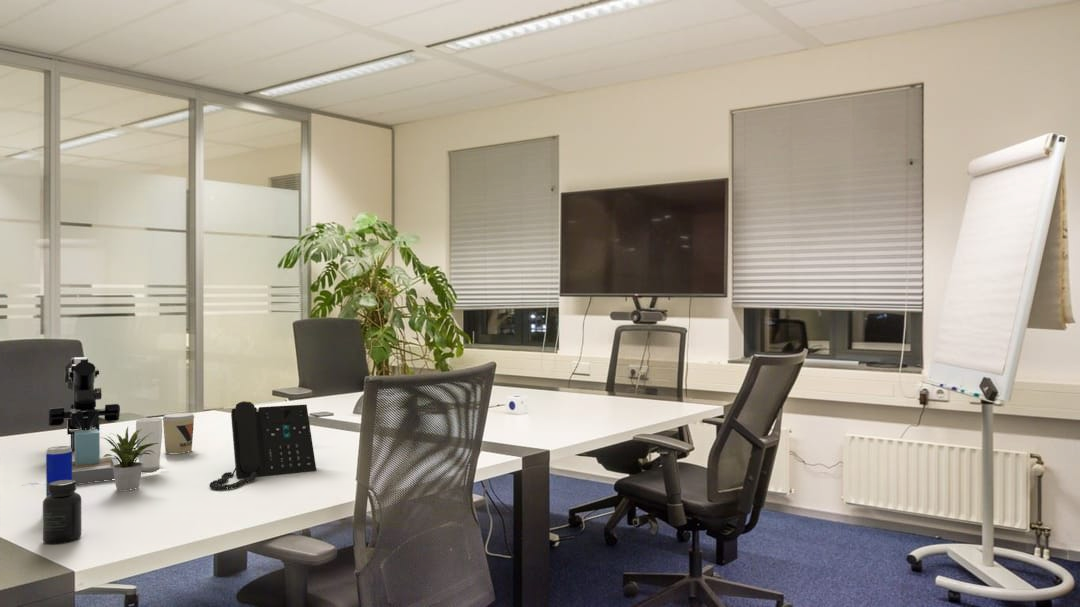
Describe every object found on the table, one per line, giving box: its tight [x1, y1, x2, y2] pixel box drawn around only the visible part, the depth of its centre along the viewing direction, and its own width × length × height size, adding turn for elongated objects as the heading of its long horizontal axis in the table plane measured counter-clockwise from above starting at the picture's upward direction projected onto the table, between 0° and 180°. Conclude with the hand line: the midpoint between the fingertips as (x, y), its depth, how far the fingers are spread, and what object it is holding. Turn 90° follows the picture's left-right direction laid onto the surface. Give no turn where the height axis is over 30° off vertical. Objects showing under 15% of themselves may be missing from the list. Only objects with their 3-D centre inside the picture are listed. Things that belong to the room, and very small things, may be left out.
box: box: [72, 457, 119, 485], centre depth 211 cm, size 14×13×4 cm
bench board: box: [72, 456, 112, 470], centre depth 221 cm, size 11×13×2 cm
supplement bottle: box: [42, 480, 83, 545], centre depth 157 cm, size 7×7×12 cm
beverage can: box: [45, 445, 73, 498], centre depth 178 cm, size 5×5×15 cm
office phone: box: [208, 400, 317, 491], centre depth 215 cm, size 29×28×20 cm
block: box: [74, 429, 101, 466], centre depth 223 cm, size 7×6×9 cm
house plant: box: [99, 426, 158, 491], centre depth 197 cm, size 14×14×16 cm
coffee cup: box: [162, 412, 195, 454], centre depth 246 cm, size 9×9×12 cm
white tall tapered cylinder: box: [135, 417, 163, 473], centre depth 218 cm, size 7×7×15 cm
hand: (86, 436), depth 228 cm, fingers closed
